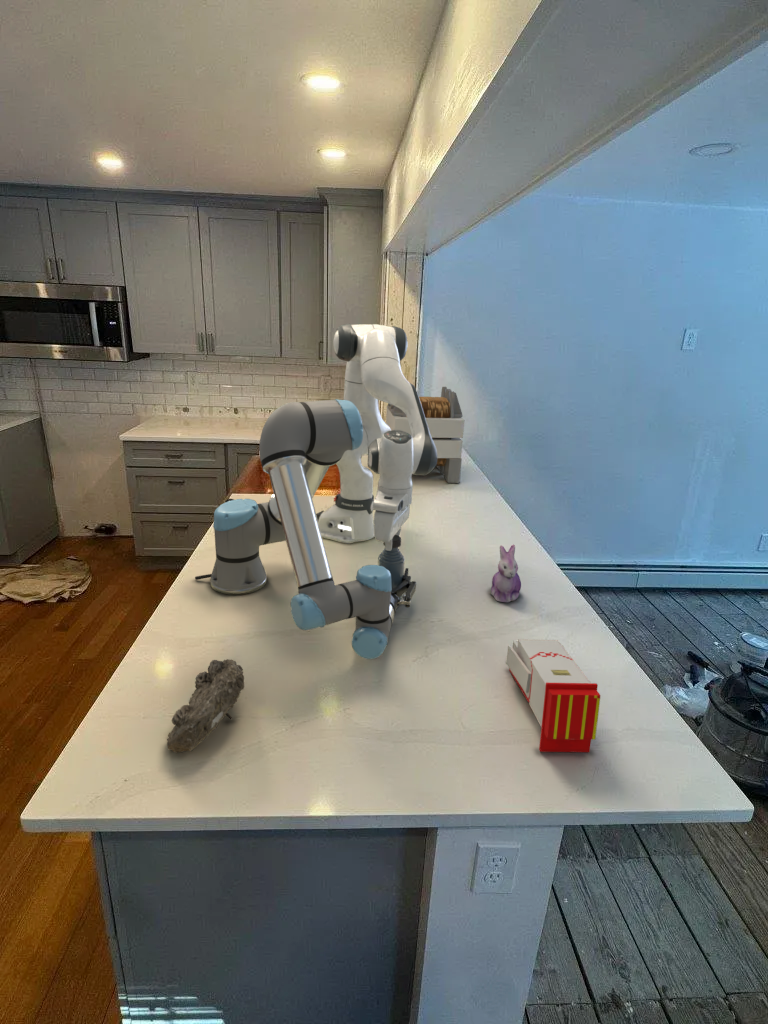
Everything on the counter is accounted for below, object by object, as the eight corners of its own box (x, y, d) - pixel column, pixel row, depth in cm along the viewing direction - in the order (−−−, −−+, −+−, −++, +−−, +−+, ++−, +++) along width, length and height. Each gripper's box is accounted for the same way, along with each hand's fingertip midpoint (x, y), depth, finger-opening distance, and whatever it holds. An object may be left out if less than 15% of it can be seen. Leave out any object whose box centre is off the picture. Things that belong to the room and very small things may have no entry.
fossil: (192, 660, 117) (244, 628, 112) (224, 691, 120) (276, 661, 115) (142, 746, 98) (202, 712, 93) (182, 779, 101) (242, 748, 96)
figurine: (503, 606, 153) (510, 556, 148) (480, 590, 162) (486, 542, 156) (530, 600, 157) (537, 550, 152) (507, 584, 166) (513, 537, 161)
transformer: (382, 463, 289) (386, 382, 275) (445, 464, 293) (451, 384, 279) (390, 482, 257) (394, 392, 243) (460, 483, 261) (468, 394, 247)
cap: (395, 549, 146) (395, 542, 145) (380, 545, 148) (380, 538, 148) (403, 544, 150) (404, 537, 149) (388, 540, 152) (389, 533, 151)
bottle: (402, 606, 151) (405, 546, 145) (375, 605, 151) (378, 544, 145) (402, 594, 158) (405, 535, 152) (376, 592, 158) (379, 534, 152)
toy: (554, 622, 128) (610, 691, 98) (548, 677, 130) (601, 759, 101) (501, 621, 127) (541, 690, 98) (496, 676, 130) (534, 758, 101)
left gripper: (338, 620, 138) (357, 579, 160) (419, 630, 136) (427, 587, 157) (338, 593, 136) (357, 554, 157) (421, 602, 133) (429, 562, 154)
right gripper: (394, 483, 155) (391, 530, 159) (370, 505, 136) (368, 558, 141) (416, 486, 153) (413, 533, 158) (395, 509, 134) (392, 562, 139)
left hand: (392, 571), depth 157 cm, fingers closed on bottle, 7 cm apart
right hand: (392, 545), depth 149 cm, fingers closed on cap, 4 cm apart
